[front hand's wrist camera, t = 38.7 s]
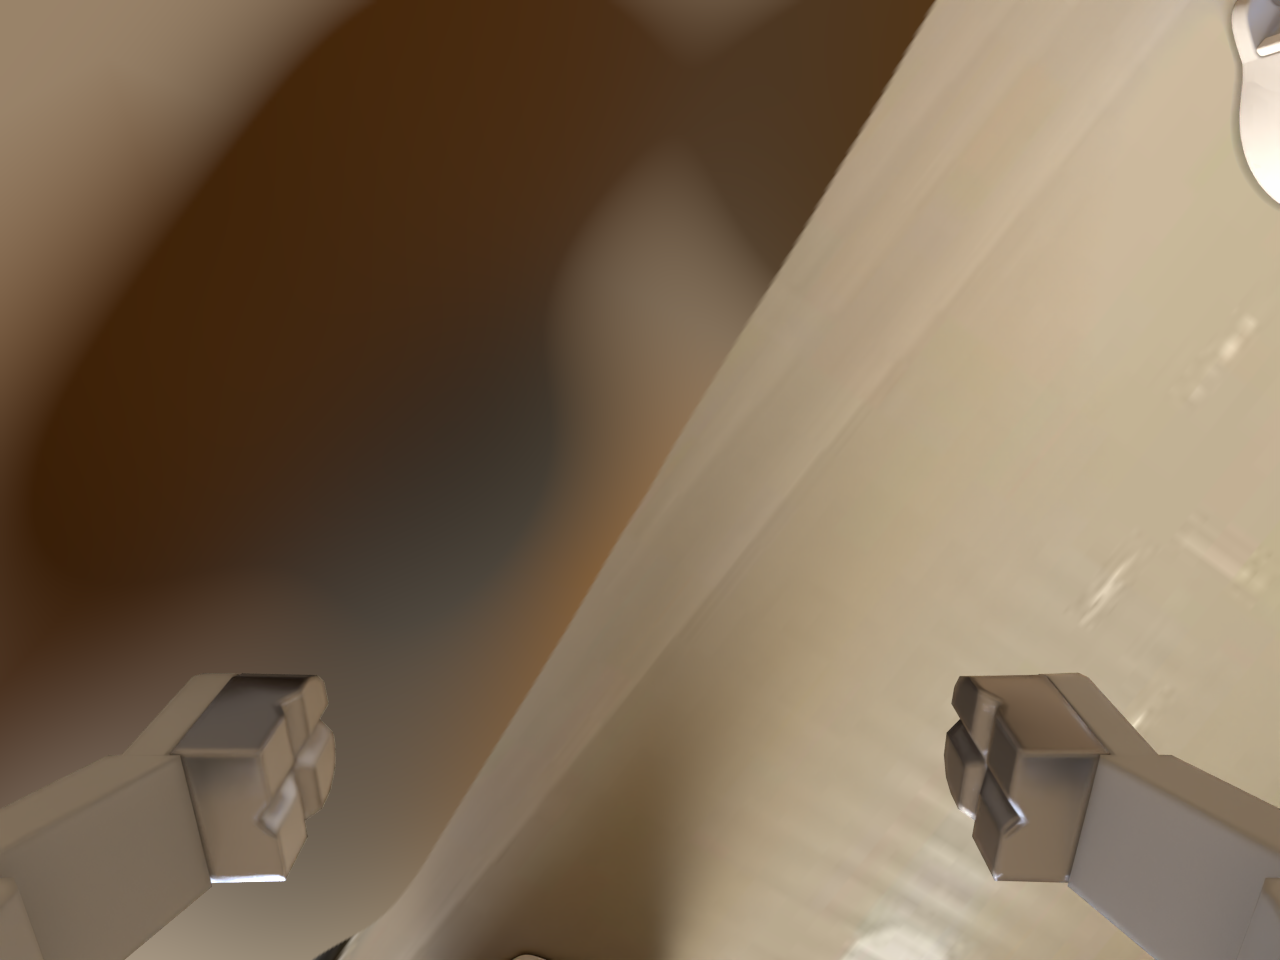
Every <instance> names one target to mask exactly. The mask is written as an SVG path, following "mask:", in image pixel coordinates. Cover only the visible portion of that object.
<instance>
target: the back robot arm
mask: <svg viewBox="0 0 1280 960" xmlns="http://www.w3.org/2000/svg"><path fill="white" fill-rule="evenodd" d="M513 960H545V959H543V958H540V957H537V956H533V955H521V956H518V957H516V958H515V959H513Z"/></svg>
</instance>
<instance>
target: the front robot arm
mask: <svg viewBox="0 0 1280 960" xmlns="http://www.w3.org/2000/svg"><path fill="white" fill-rule="evenodd" d="M1232 30H1233V34H1234V39H1235V42H1236V46H1237V49H1238V52H1239V55H1240V58H1241V61H1242V65H1243V81H1242V90H1241V100H1240V114H1239V121H1240V135H1241V141H1242V146H1243V150H1244V154H1245V157H1246V160H1247V162H1248V165H1249V167H1250V169H1251V171H1252V173H1253V175H1254V177H1255V178H1256V180H1257V181H1258V183H1259V184H1260V185H1261V187H1262V188H1263V189H1264V190H1265V191H1266V192H1267V193H1268V194H1269V195H1270V196H1271V197H1272V198H1273V199H1274V200H1275V201H1277V202H1278V203H1279V204H1280V0H1237V1H1236V3H1235V5H1234V8H1233V11H1232ZM951 704H952V705H953V707H954V709H955V711H956V712H957V714H958V716H959V717H960V720H959V721H958V722H957V723H956V724H955V725H954V726H953V727H952V728H951V729H950V730H949V731H948V732H947V734H946V742H945V750H944V761H945V772H946V779H947V782H948V786H949V789H950V792H951V795H952V797H953V799H954V801H955V803H956V805H957V807H958V809H959V810H961V811H962V812H964V813H965V814H966V815H968V816H969V817H971V818H972V819H974V820H975V823H974V829H973V834H972V837H973V839H974V841H975V843H976V845H977V847H978V849H979V851H980V853H981V855H982V857H983V859H984V861H985V863H986V864H987V866H988V868H989V870H990V872H991V874H992V876H993V878H994V880H995V881H1029V882H1065V883H1068V887H1070V888H1071V889H1072V890H1073V891H1074V892H1075V893H1077V894H1078V895H1079V896H1080V897H1081V898H1083V899H1084V900H1085V901H1086V902H1087V903H1089V904H1090V905H1091V906H1092V907H1093V908H1095V909H1096V910H1097V911H1098V912H1099V913H1101V914H1102V915H1103V916H1104V917H1105V918H1107V919H1108V920H1109V921H1110V922H1111V923H1113V924H1114V925H1115V926H1116V927H1117V928H1119V929H1120V930H1121V931H1122V932H1123V933H1124V934H1126V935H1127V936H1128V937H1129V938H1130V939H1132V940H1133V941H1134V942H1135V943H1136V944H1138V945H1139V946H1140V947H1141V948H1142V949H1144V950H1145V951H1146V952H1147V953H1148V954H1150V955H1151V956H1152V957H1153V958H1154V959H1156V960H1280V809H1279V808H1277V807H1275V806H1273V805H1271V804H1269V803H1267V802H1265V801H1263V800H1261V799H1259V798H1257V797H1255V796H1253V795H1251V794H1249V793H1247V792H1245V791H1243V790H1241V789H1239V788H1237V787H1235V786H1233V785H1231V784H1229V783H1227V782H1225V781H1223V780H1221V779H1219V778H1217V777H1215V776H1213V775H1211V774H1209V773H1206V772H1204V771H1202V770H1200V769H1198V768H1196V767H1194V766H1192V765H1190V764H1188V763H1186V762H1184V761H1182V760H1180V759H1178V758H1176V757H1174V756H1172V755H1158V754H1157V753H1156V752H1155V751H1154V750H1153V748H1152V747H1151V746H1150V745H1149V744H1148V743H1147V742H1146V741H1145V740H1144V738H1143V737H1142V736H1141V735H1140V734H1139V733H1138V732H1137V731H1136V730H1135V729H1134V727H1133V726H1132V725H1131V724H1130V723H1129V722H1128V721H1127V720H1126V719H1125V717H1124V716H1123V715H1122V714H1121V713H1120V712H1119V711H1118V710H1117V709H1116V708H1115V706H1114V705H1113V704H1112V703H1111V702H1110V701H1109V700H1108V699H1107V698H1106V696H1105V695H1104V694H1103V693H1102V692H1101V691H1100V690H1099V689H1098V688H1097V686H1096V685H1095V684H1094V683H1093V682H1092V681H1091V680H1090V679H1089V678H1088V677H1086V676H1084V675H1082V674H1080V673H1057V674H1039V675H1001V676H960V677H959V679H958V681H957V683H956V685H955V687H954V692H953V698H952V703H951ZM327 705H328V699H327V694H326V689H325V684H324V681H323V680H322V679H321V678H320V677H319V676H317V675H288V674H236V673H203V674H200V675H196V676H193V677H192V678H191V679H190V680H189V681H188V682H187V683H186V684H185V685H184V687H183V688H182V689H181V690H180V691H179V692H178V693H177V694H176V695H175V696H174V698H173V699H172V700H171V701H170V702H169V703H168V704H167V705H166V706H165V708H164V709H163V710H162V711H161V712H160V713H159V714H158V715H157V716H156V717H155V719H154V720H153V721H152V722H151V723H150V724H149V725H148V726H147V727H146V729H145V730H144V731H143V732H142V733H141V734H140V735H139V736H138V737H137V738H136V740H135V741H134V742H133V743H132V744H131V745H130V746H129V747H128V748H127V750H126V751H125V752H124V753H123V754H122V755H108V756H106V757H104V758H102V759H100V760H98V761H96V762H94V763H92V764H90V765H88V766H86V767H84V768H82V769H80V770H78V771H76V772H73V773H71V774H69V775H67V776H65V777H63V778H61V779H59V780H57V781H55V782H53V783H51V784H49V785H47V786H45V787H43V788H41V789H39V790H37V791H35V792H33V793H31V794H29V795H27V796H25V797H23V798H21V799H19V800H17V801H15V802H13V803H11V804H9V805H7V806H5V807H3V808H1V809H0V960H125V959H126V958H127V957H128V956H129V955H131V954H132V953H133V952H134V951H135V950H137V949H138V948H139V947H140V946H141V945H143V944H144V943H145V942H146V941H147V940H149V939H150V938H151V937H152V936H153V935H155V934H156V933H157V932H158V931H159V930H161V929H162V928H163V927H164V926H165V925H167V924H168V923H169V922H170V921H171V920H173V919H174V918H175V917H176V916H177V915H179V914H180V913H181V912H182V911H183V910H185V909H186V908H187V907H188V906H189V905H191V904H192V903H193V902H194V901H195V900H196V899H198V898H199V897H200V896H201V895H202V894H204V893H205V892H206V891H207V890H208V889H210V888H211V887H212V883H215V882H249V881H283V880H286V878H287V876H288V874H289V872H290V870H291V868H292V867H293V865H294V863H295V861H296V859H297V857H298V855H299V853H300V851H301V849H302V847H303V845H304V843H305V841H306V839H307V837H308V835H307V829H306V823H305V820H306V819H308V818H309V817H311V816H312V815H314V814H315V813H316V812H318V811H319V810H321V809H322V807H323V805H324V803H325V801H326V799H327V797H328V795H329V792H330V790H331V785H332V781H333V776H334V772H335V763H336V748H335V741H334V734H333V732H332V731H331V730H330V729H329V728H328V727H327V726H326V725H325V724H324V723H323V722H322V721H321V720H320V717H321V716H322V714H323V712H324V711H325V709H326V707H327Z"/></svg>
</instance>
